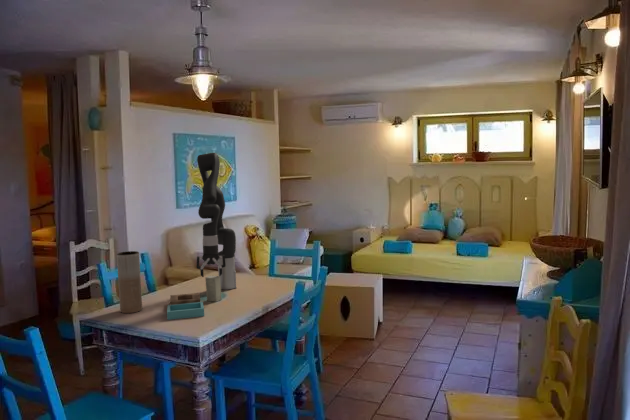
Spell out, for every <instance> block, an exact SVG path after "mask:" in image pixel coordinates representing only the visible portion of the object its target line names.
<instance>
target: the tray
mask: <svg viewBox="0 0 630 420" xmlns="http://www.w3.org/2000/svg"><path fill="white" fill-rule="evenodd" d="M166 309H167V310H166V312H167V313H166V317H167V318H166V319H167V320H179V319H188V318H196V317H198V318H199V317H205V307H204V302H203V301H200V302H197V303H186V304H175V305H170V304H167V308H166Z"/></svg>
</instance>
